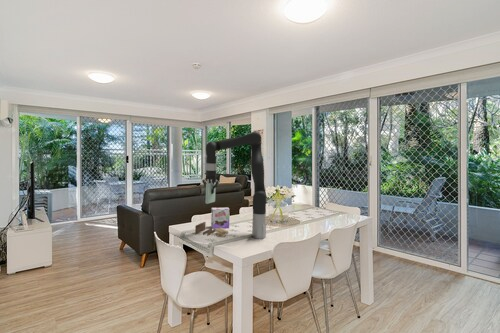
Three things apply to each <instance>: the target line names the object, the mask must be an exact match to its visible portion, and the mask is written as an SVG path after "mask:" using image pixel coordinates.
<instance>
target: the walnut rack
mask: <svg viewBox="0 0 500 333" xmlns="http://www.w3.org/2000/svg"><path fill="white" fill-rule="evenodd" d="M194 227H195V232H194V233H195V235H198V234H199V233H202V235H203V236H205V235H206V236H211V235H212V234H214V233H217V232H216V231H215V229H212V228H211V227H210V228H209V229H207V230H206V221H203V222H200V223H198V224H196V225H195V226H194Z"/></svg>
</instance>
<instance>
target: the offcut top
mask: <svg viewBox="0 0 500 333" xmlns="http://www.w3.org/2000/svg"><path fill="white" fill-rule="evenodd" d="M215 231H216V232H215V233H217V234H218V233H220V234H222V235H223V234H225V235H228V234H229V230H227V229H226V228H216V229H215Z"/></svg>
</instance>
